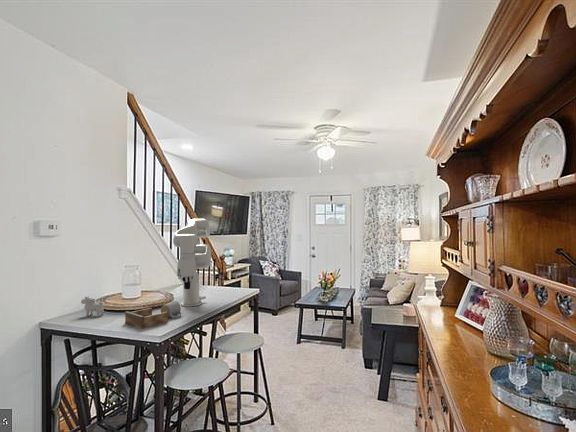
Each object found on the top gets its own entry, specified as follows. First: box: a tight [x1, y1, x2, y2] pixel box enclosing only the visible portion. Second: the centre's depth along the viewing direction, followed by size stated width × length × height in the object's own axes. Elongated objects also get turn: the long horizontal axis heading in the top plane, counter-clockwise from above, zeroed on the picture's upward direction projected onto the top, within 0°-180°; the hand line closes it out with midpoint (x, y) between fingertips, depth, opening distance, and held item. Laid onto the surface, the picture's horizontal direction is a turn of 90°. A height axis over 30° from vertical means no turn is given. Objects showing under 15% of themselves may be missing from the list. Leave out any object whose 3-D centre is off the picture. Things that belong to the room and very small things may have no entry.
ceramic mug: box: [160, 300, 182, 319], centre depth 182 cm, size 11×8×8 cm
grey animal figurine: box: [80, 295, 105, 318], centre depth 189 cm, size 5×13×11 cm, turn 83°
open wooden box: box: [124, 307, 168, 329], centre depth 172 cm, size 14×16×6 cm
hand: (187, 288), depth 190 cm, fingers closed
